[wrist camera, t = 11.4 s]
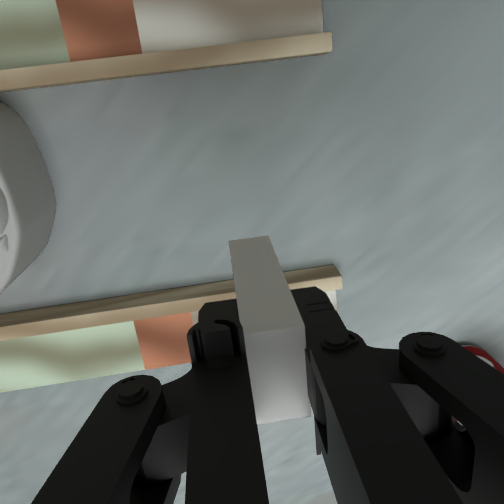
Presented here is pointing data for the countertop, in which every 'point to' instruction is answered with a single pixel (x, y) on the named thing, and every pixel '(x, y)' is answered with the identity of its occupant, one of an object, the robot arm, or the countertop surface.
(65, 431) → the countertop surface
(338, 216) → the countertop surface
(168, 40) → the track
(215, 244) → the countertop surface
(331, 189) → the countertop surface
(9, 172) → the lumpy-topped squat cylinder
